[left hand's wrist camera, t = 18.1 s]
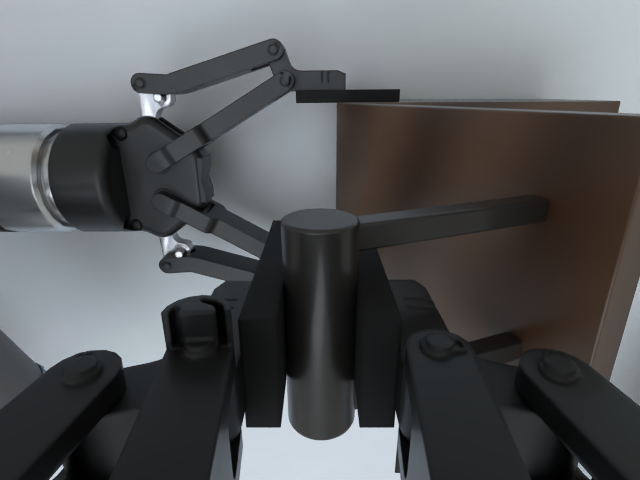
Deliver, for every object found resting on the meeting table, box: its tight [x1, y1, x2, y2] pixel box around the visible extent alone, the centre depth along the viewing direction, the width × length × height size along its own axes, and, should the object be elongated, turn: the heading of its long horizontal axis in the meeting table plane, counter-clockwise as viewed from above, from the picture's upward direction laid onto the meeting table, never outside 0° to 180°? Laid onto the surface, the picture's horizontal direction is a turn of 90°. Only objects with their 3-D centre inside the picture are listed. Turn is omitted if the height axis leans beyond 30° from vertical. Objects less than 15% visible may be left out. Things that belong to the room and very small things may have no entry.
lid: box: [281, 103, 640, 440], centre depth 17 cm, size 17×10×9 cm
